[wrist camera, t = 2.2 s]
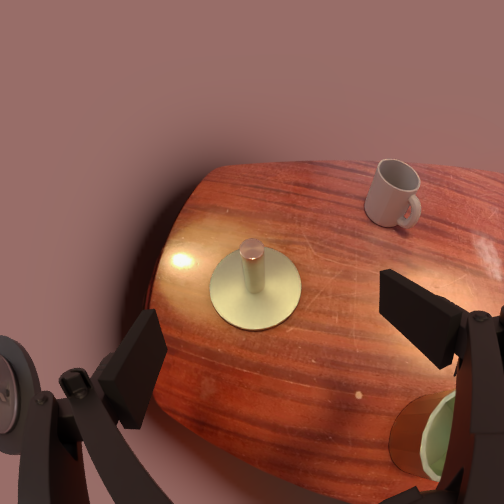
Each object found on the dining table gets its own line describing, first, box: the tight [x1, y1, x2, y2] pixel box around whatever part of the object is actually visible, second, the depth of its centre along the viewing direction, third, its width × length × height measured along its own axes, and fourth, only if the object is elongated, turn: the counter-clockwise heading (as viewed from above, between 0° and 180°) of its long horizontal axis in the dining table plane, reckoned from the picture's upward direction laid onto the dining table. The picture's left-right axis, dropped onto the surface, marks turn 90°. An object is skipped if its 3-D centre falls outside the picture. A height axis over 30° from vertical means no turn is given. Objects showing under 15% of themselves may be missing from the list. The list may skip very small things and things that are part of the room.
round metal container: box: [389, 389, 456, 482], centre depth 22 cm, size 11×11×8 cm
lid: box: [210, 238, 301, 331], centre depth 34 cm, size 12×12×10 cm
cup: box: [365, 159, 421, 229], centre depth 40 cm, size 7×10×9 cm
